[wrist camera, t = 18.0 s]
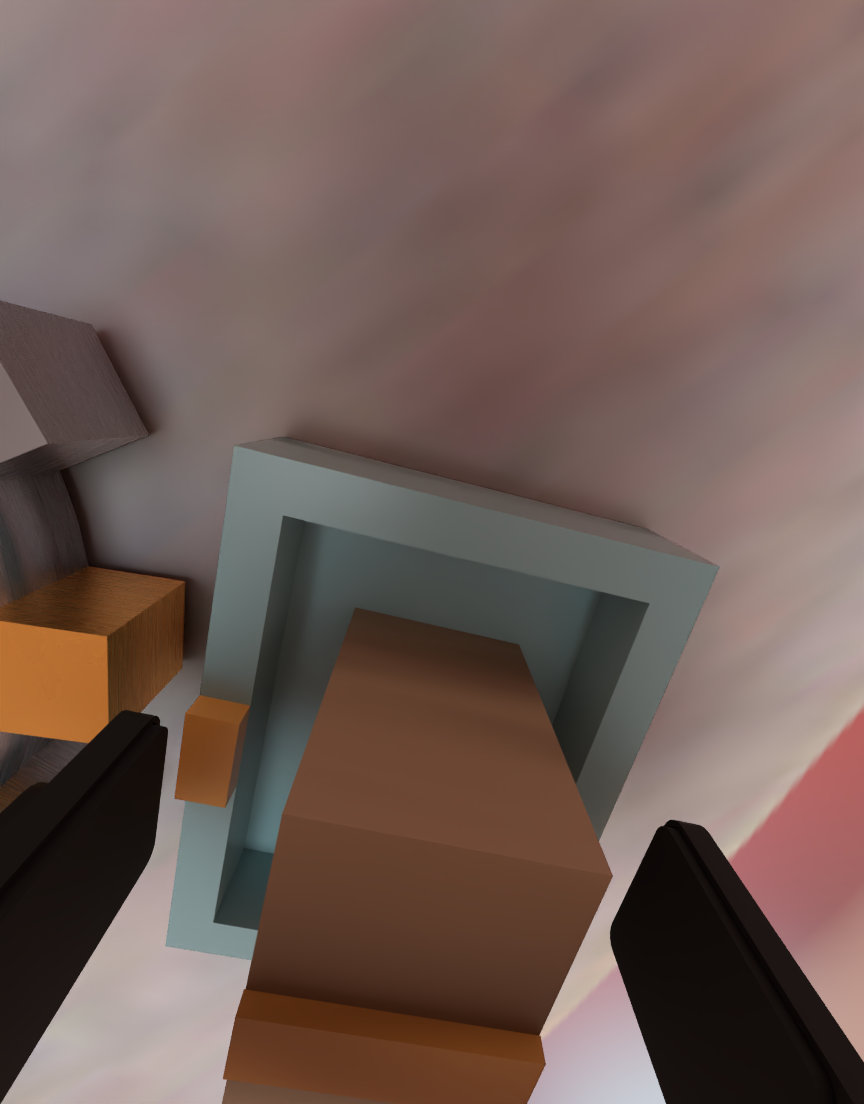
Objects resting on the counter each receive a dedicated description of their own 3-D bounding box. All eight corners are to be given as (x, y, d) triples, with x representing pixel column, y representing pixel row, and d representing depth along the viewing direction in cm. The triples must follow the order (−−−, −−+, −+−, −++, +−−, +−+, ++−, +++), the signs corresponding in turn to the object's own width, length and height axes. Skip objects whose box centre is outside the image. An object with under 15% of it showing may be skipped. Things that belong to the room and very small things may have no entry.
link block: (354, 607, 11) (272, 836, 5) (519, 644, 12) (623, 900, 6) (302, 838, 13) (197, 1204, 7) (445, 865, 13) (463, 1237, 7)
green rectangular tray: (283, 436, 11) (219, 448, 8) (648, 528, 12) (740, 577, 8) (217, 838, 14) (151, 974, 11) (507, 891, 15) (531, 1034, 12)
